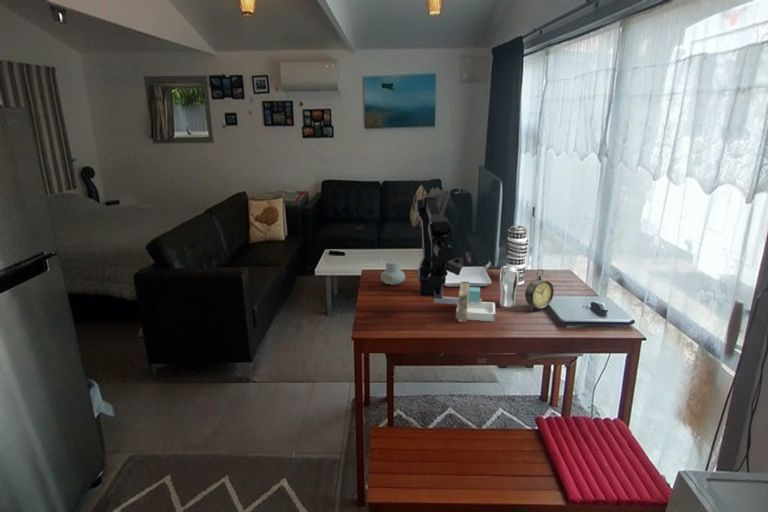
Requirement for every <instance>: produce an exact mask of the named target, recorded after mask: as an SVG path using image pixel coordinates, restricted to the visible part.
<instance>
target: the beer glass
mask: <svg viewBox="0 0 768 512" xmlns="http://www.w3.org/2000/svg"><path fill="white" fill-rule="evenodd" d="M518 270H519V269H518V268H517V267H513V266H506V265H504V266H503V265H502V266H501V268H500V272H499V274H500V275H499V286H500V287H499V288H500V300H499V306H501V307H502V308H508V309H511V308H514V307H516V293H517V289H518V286H519V285H518V279H519V271H518Z"/></svg>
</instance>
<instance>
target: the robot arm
mask: <svg viewBox="0 0 768 512" xmlns="http://www.w3.org/2000/svg"><path fill="white" fill-rule="evenodd" d="M438 204H439V203H438V199H437V197H436V196H424V197H422V198H421V199H418V200H416V202H415V204H414V209H415V212H416V216H417V218H418V219H419V221H420V222H421V223H420V224H421V240H422V241H421V242H422V258H421V260H420V262H419V267H418V269H417V273H416V274H417V275H416V277H417V280H418V282H419V285H420V287H419V288H420V292H419V296H423V297H424V296H425V297H434V291H435V293H436V295H440V290H441V286H442V284H445V282H446V276H447V274H448V272H447V271H449V272H451V273H454V274H455V275H459V274H460V271H461V269H462V267H463V264H462V262H461V261H460V258H458V257H455V258H454V256H455V255H454V254H455V252H454V250H453V248H452V247H451V246H450V245H449V242H453V241H454V232H453V227H452V225H451V223H450V222H449V220H448V218H447V217H446V216H443V215H442V213H441V210H440V208H439V205H438ZM453 258H454V259H453Z"/></svg>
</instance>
